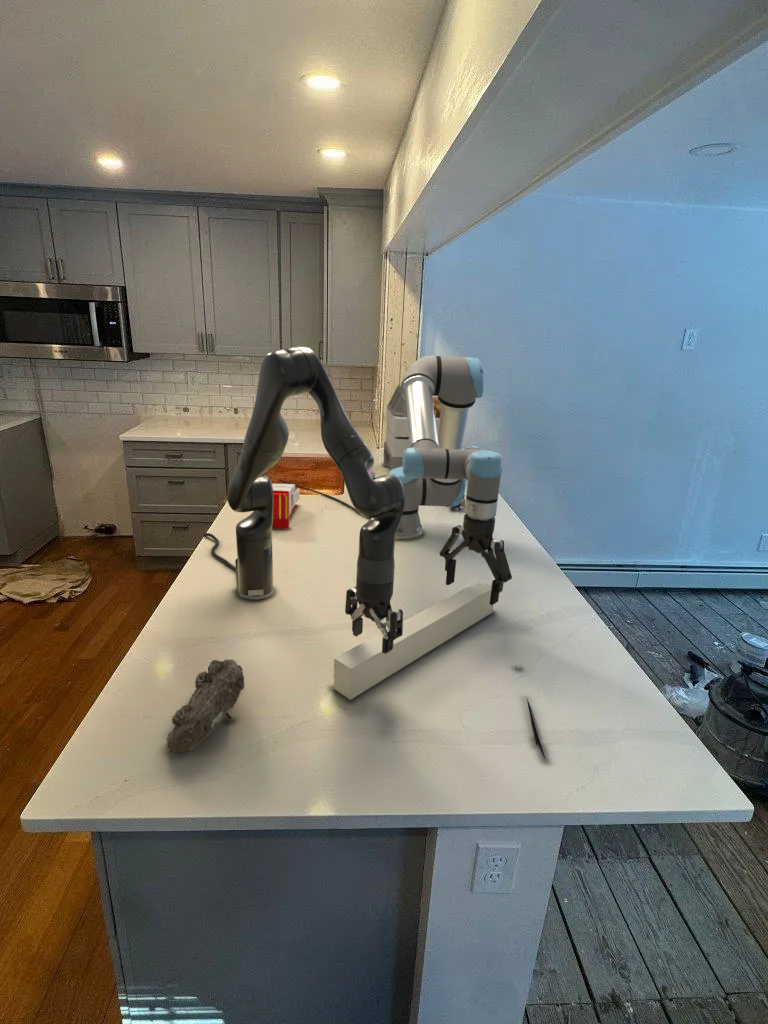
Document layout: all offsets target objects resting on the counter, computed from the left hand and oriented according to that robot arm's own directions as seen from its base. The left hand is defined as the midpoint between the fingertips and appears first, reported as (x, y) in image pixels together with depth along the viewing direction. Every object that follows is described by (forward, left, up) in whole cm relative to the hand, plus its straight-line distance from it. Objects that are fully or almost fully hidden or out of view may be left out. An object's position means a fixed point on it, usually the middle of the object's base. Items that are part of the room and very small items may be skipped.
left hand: (371, 643), depth 119 cm
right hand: (+4, +36, -1) cm, 36 cm away
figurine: (-78, +97, -9) cm, 125 cm away
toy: (-87, +55, -9) cm, 103 cm away
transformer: (-83, +141, -9) cm, 164 cm away
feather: (+31, +13, -9) cm, 34 cm away
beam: (+2, +18, -9) cm, 20 cm away
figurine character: (-44, +110, -9) cm, 119 cm away
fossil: (-15, -29, -9) cm, 34 cm away
